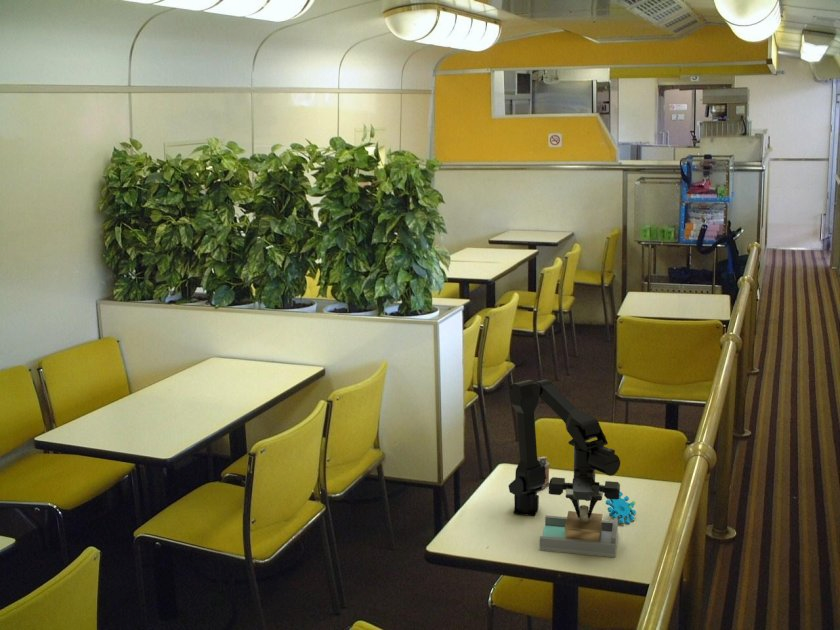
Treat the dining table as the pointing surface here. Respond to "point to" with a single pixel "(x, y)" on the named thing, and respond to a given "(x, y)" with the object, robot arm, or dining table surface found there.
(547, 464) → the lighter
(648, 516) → the dining table surface
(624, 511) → the gear
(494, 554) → the dining table surface
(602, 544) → the bay
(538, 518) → the dining table surface
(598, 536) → the crate
